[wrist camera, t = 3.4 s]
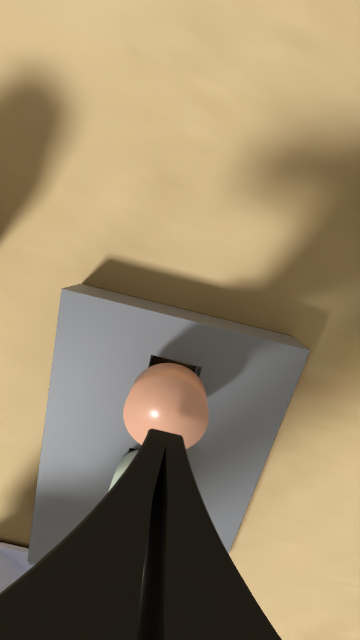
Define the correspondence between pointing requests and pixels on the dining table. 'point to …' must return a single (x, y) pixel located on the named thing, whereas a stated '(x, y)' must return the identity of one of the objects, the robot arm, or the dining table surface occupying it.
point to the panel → (114, 387)
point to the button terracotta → (167, 403)
